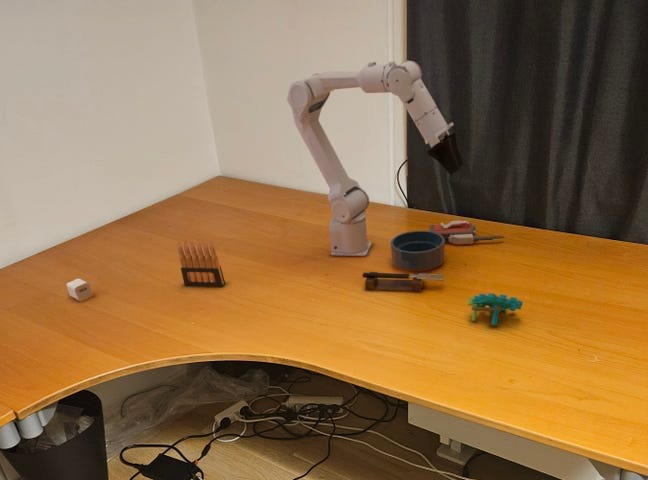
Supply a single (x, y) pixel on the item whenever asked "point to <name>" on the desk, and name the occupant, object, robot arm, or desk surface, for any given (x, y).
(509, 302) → the teal knobby toy
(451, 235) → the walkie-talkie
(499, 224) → the desk surface
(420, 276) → the fork
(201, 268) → the ammunition clip
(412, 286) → the cutlery rest
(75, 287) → the usb wall charger
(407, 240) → the bowl
